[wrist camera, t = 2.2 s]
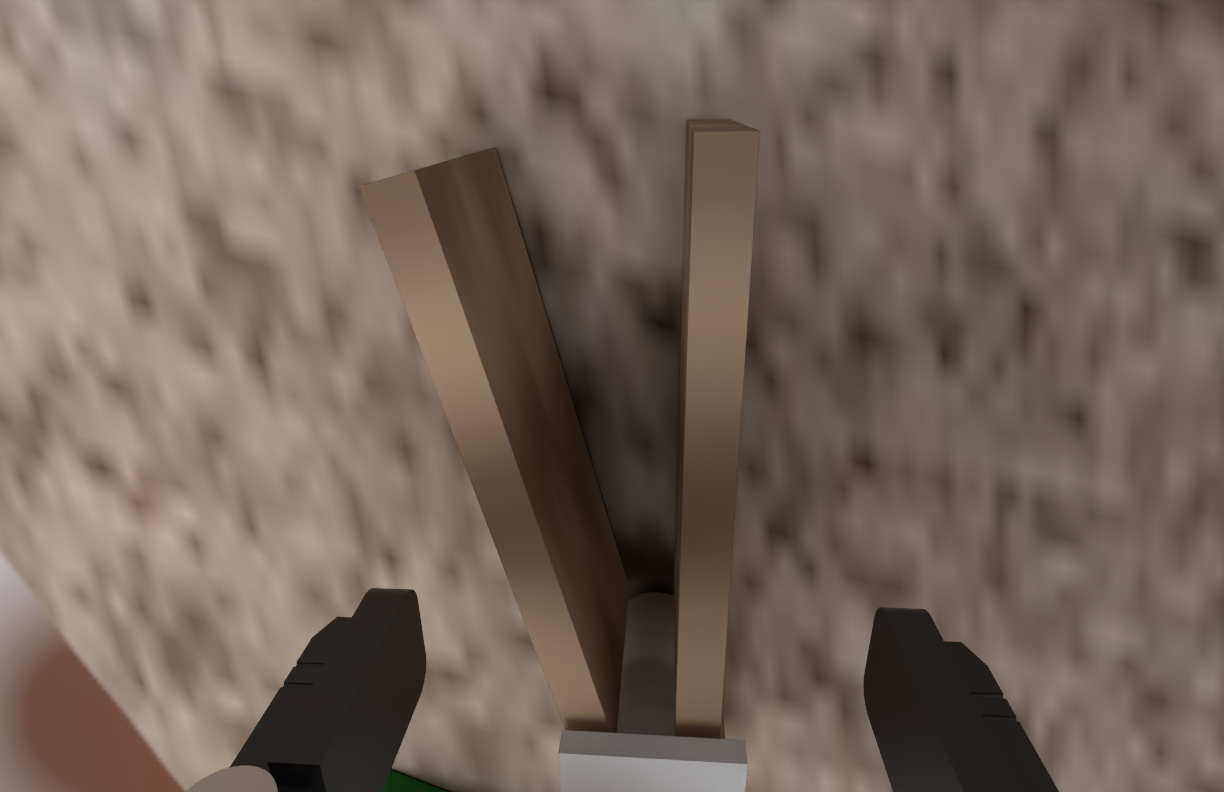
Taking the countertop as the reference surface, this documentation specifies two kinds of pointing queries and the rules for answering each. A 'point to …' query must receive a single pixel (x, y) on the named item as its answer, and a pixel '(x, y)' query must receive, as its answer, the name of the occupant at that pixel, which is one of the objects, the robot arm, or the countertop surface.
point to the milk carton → (406, 784)
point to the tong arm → (524, 442)
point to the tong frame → (697, 485)
